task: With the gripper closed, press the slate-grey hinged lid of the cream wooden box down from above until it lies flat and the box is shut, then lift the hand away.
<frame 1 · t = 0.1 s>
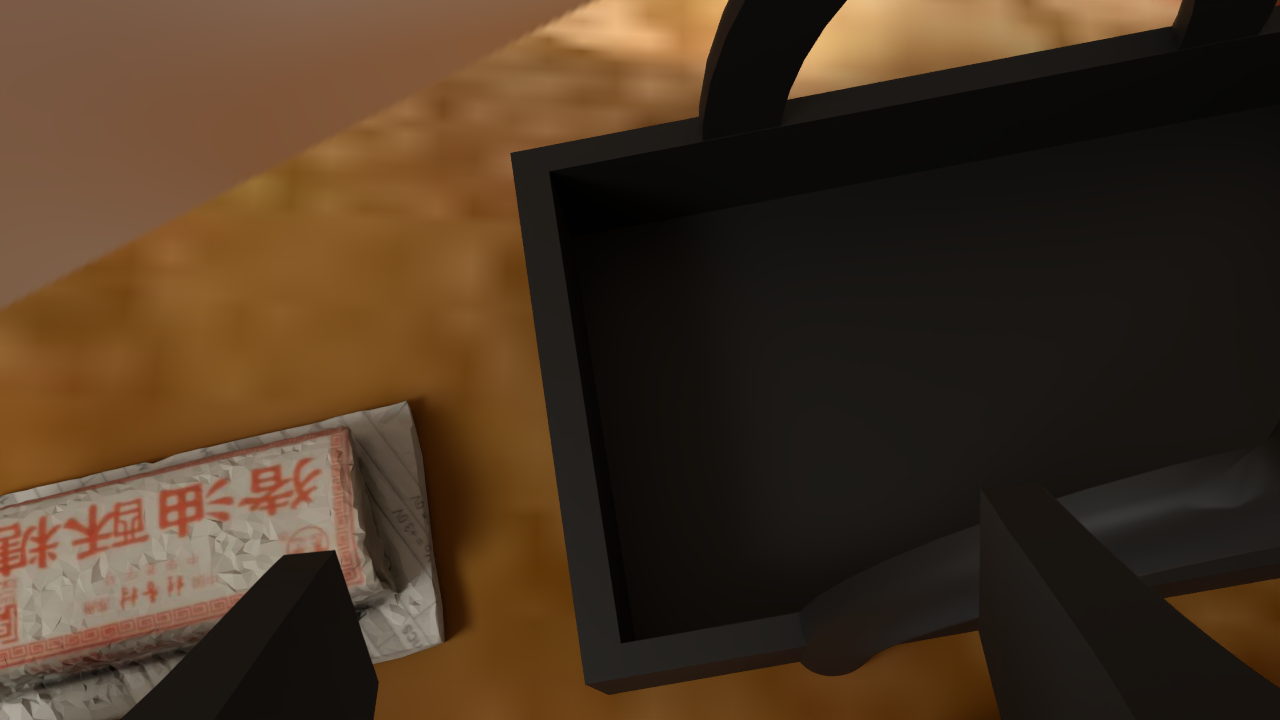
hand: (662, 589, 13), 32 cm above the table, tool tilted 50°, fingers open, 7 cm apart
packaged product: (220, 574, 48), on the table
basket: (1004, 367, 47), on the table
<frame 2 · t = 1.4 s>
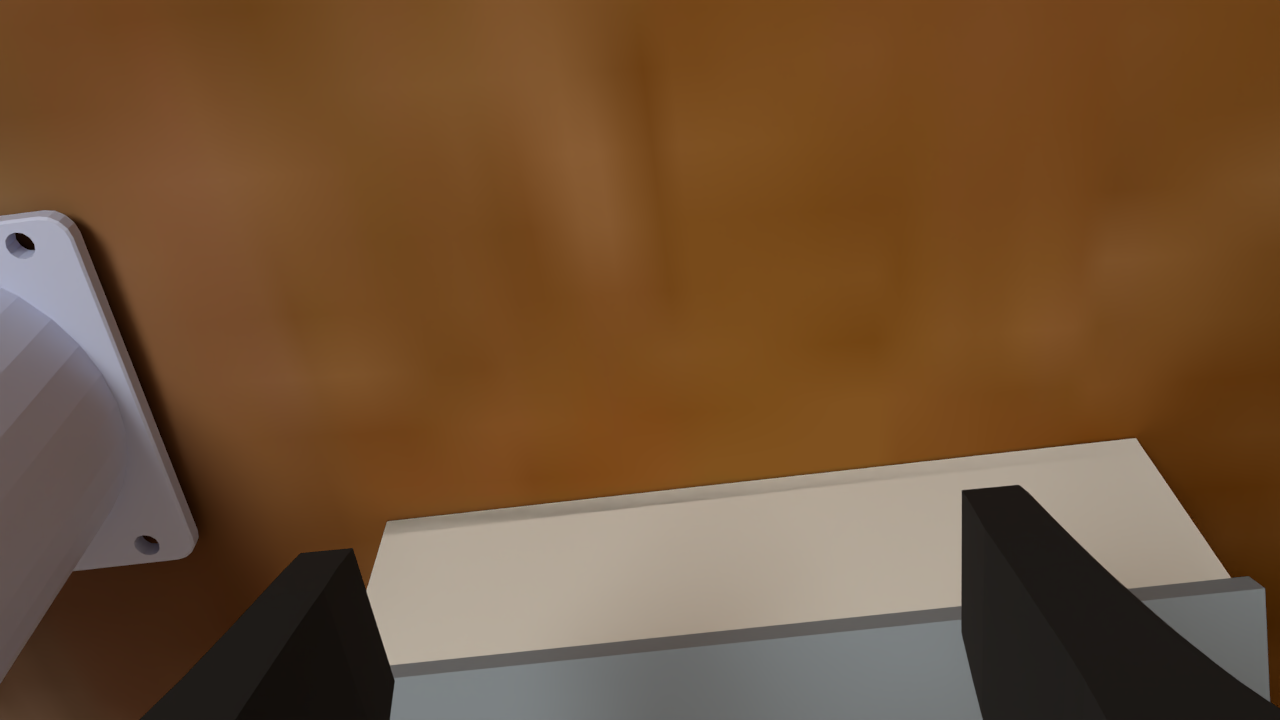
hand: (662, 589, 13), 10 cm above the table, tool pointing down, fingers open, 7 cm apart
box: (778, 716, 29), on the table
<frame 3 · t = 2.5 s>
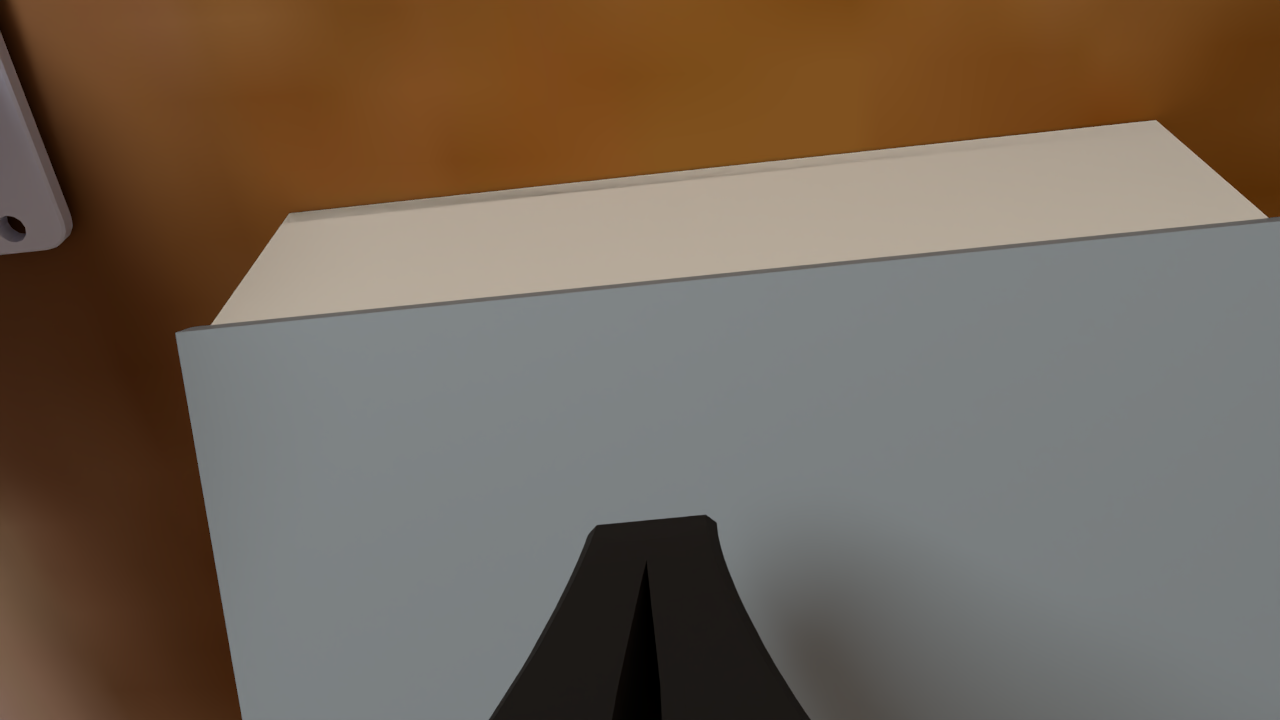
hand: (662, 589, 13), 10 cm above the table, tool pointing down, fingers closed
box: (740, 477, 25), on the table
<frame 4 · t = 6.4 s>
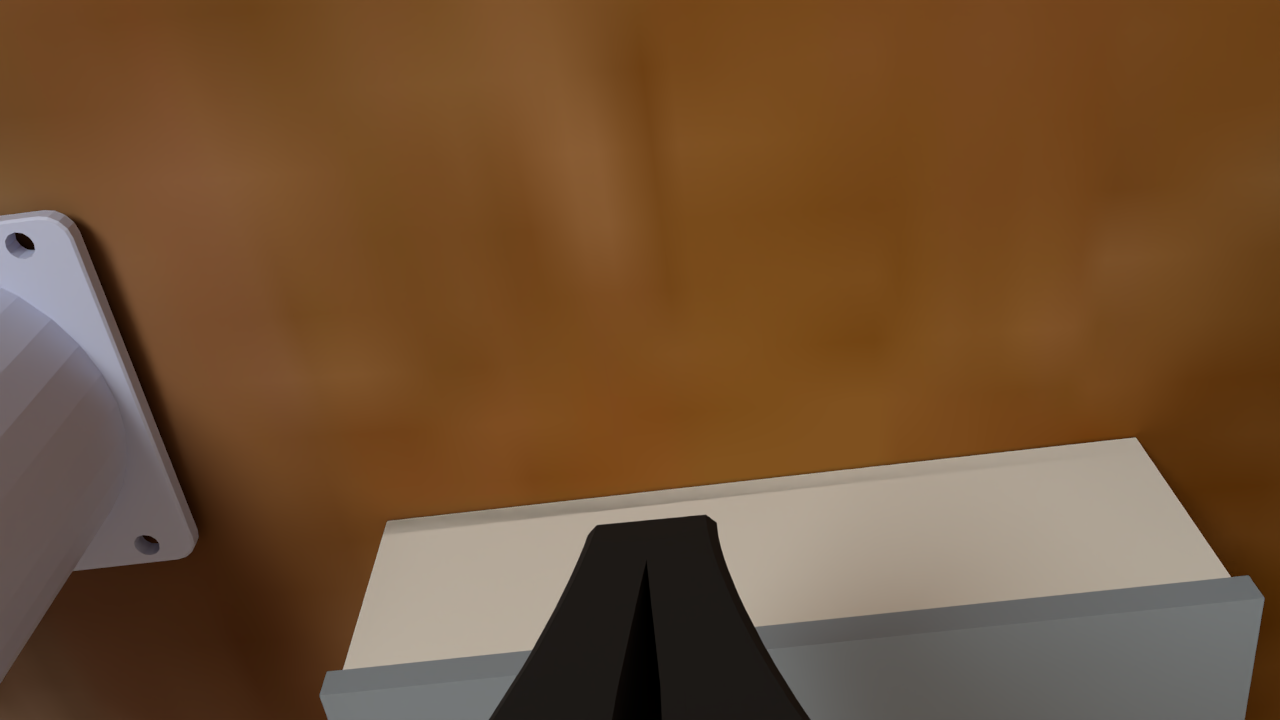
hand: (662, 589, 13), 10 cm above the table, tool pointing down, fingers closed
box: (778, 715, 29), on the table
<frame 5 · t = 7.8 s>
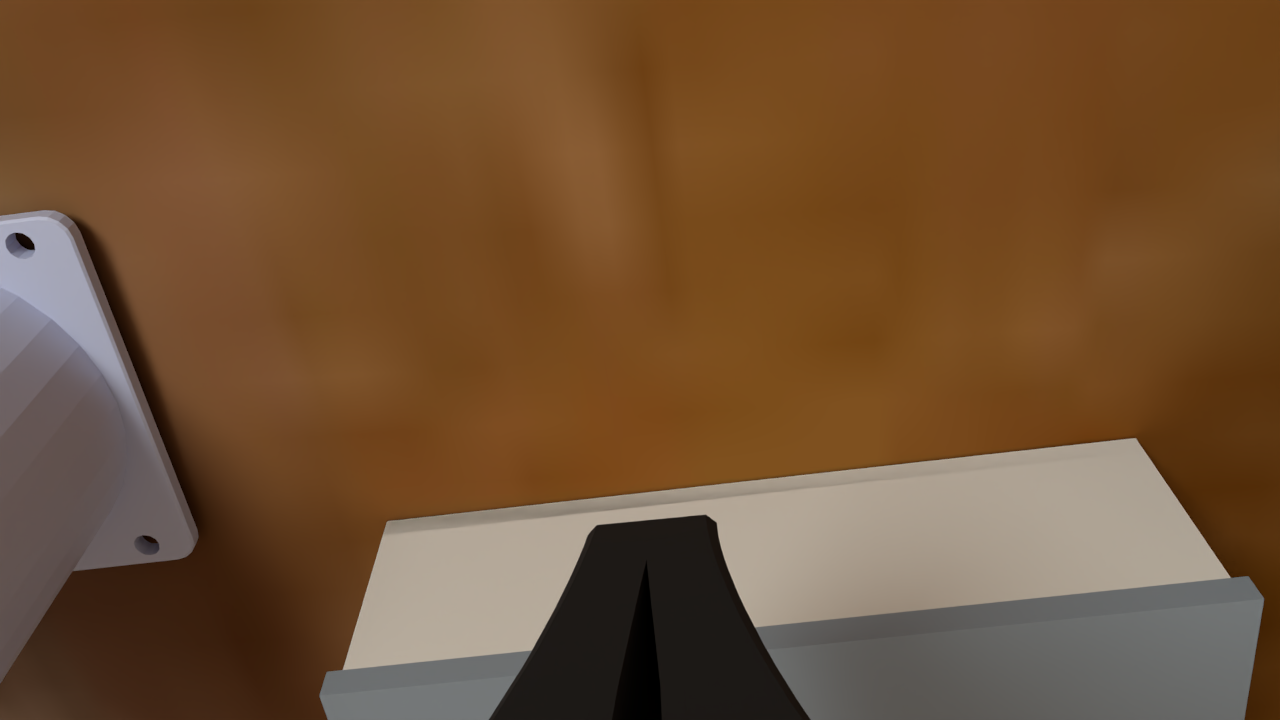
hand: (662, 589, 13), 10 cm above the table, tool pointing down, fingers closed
box: (778, 716, 29), on the table
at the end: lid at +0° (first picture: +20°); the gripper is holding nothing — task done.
